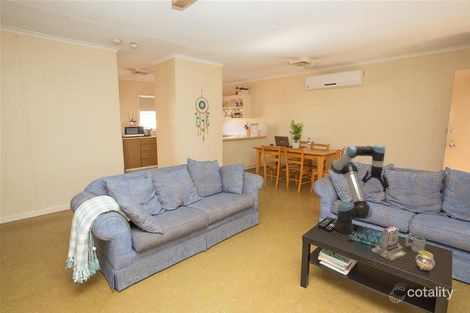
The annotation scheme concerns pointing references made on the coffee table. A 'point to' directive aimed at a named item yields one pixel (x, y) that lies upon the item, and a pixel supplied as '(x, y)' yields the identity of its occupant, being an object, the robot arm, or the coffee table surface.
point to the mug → (416, 243)
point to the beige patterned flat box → (389, 252)
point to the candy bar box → (389, 238)
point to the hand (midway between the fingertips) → (373, 193)
